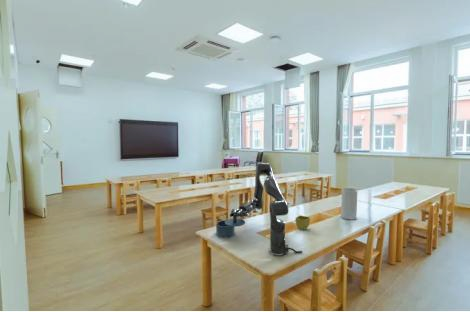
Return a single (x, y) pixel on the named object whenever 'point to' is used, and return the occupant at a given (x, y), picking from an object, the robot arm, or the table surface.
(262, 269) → the table surface
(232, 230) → the pot
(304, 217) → the flower pot
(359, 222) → the table surface
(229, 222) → the lid
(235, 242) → the table surface
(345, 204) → the cylinder vase
